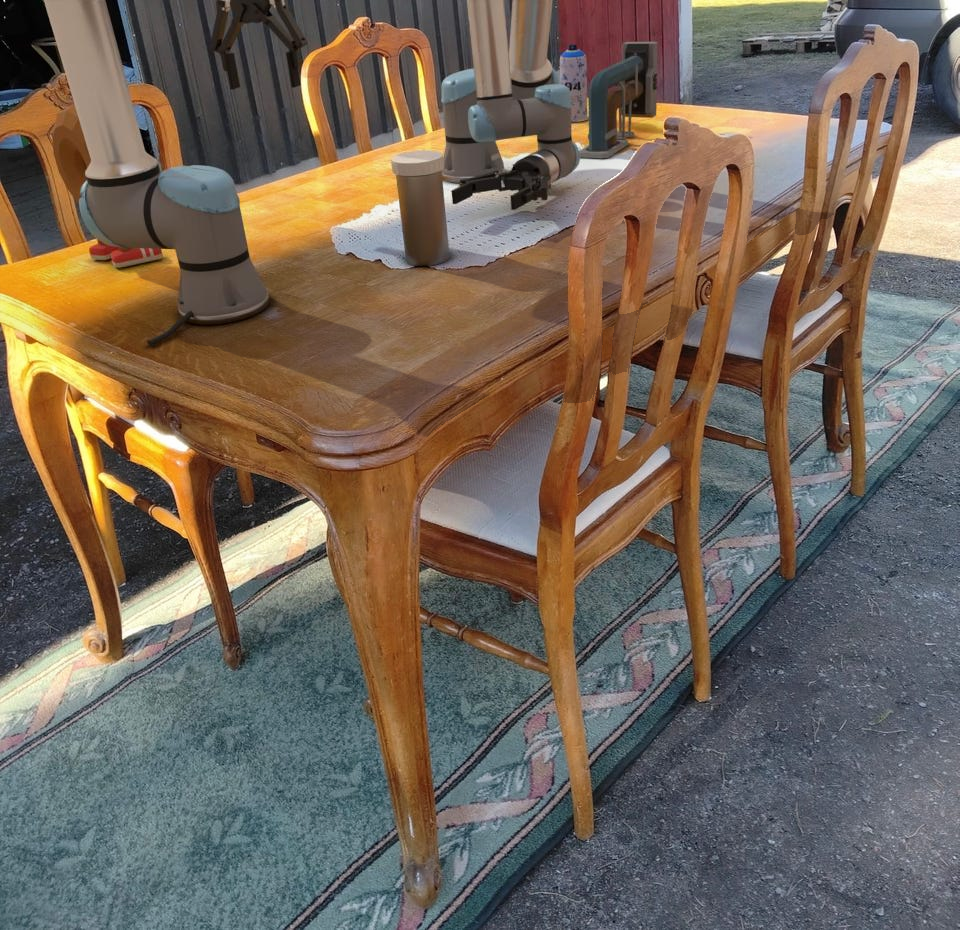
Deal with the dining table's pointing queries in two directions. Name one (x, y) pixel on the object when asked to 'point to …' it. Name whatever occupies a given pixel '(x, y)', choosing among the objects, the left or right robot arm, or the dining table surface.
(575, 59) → the aerosol can
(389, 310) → the dining table surface
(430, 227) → the jar
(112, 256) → the toy
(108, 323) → the dining table surface
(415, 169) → the lid
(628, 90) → the clamp
